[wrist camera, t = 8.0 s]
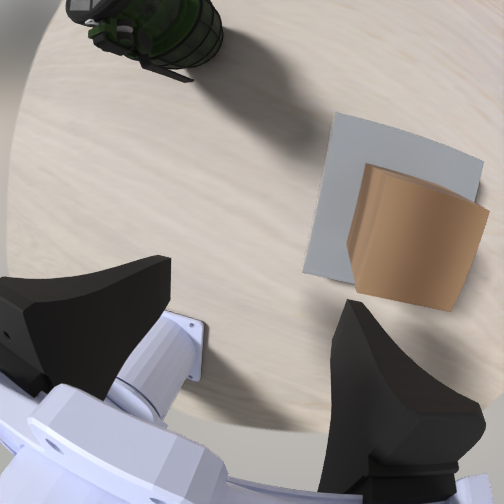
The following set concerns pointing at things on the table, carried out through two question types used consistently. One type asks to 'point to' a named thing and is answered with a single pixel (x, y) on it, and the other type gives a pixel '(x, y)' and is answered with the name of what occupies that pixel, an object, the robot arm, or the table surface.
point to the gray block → (350, 177)
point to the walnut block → (412, 239)
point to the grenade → (153, 31)
